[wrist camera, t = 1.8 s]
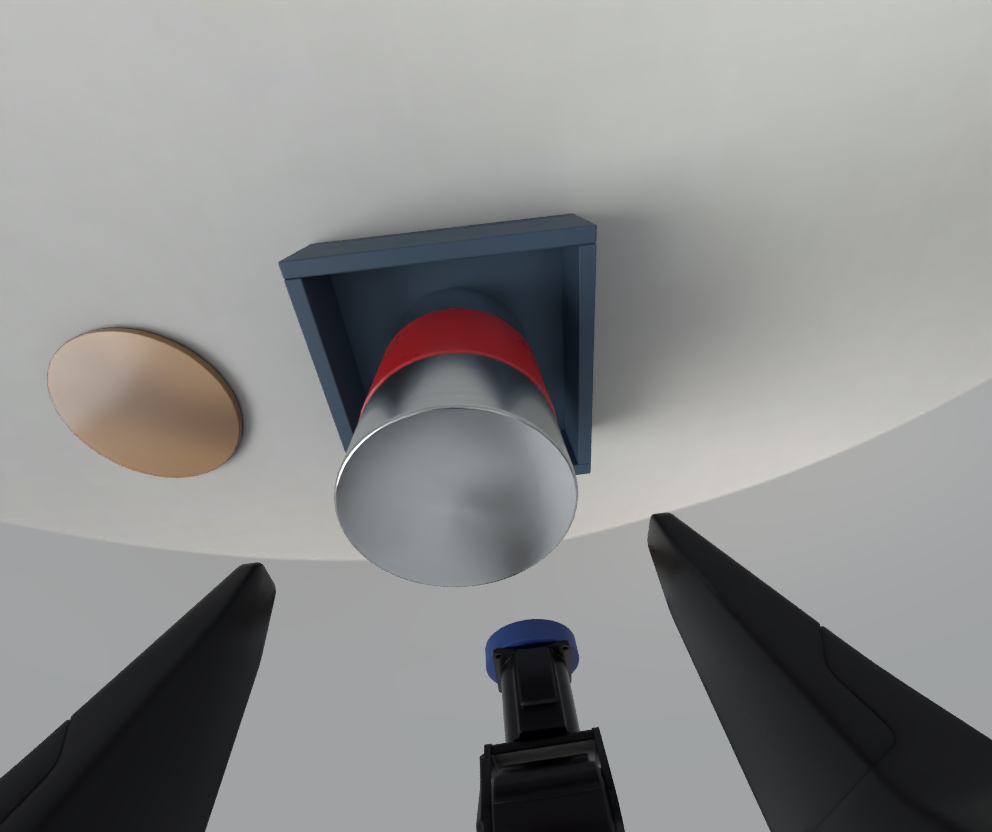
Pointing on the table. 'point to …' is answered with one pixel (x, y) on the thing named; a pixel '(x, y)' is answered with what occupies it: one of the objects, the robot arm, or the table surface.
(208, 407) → the coaster
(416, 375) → the can
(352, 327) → the crate
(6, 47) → the table surface
